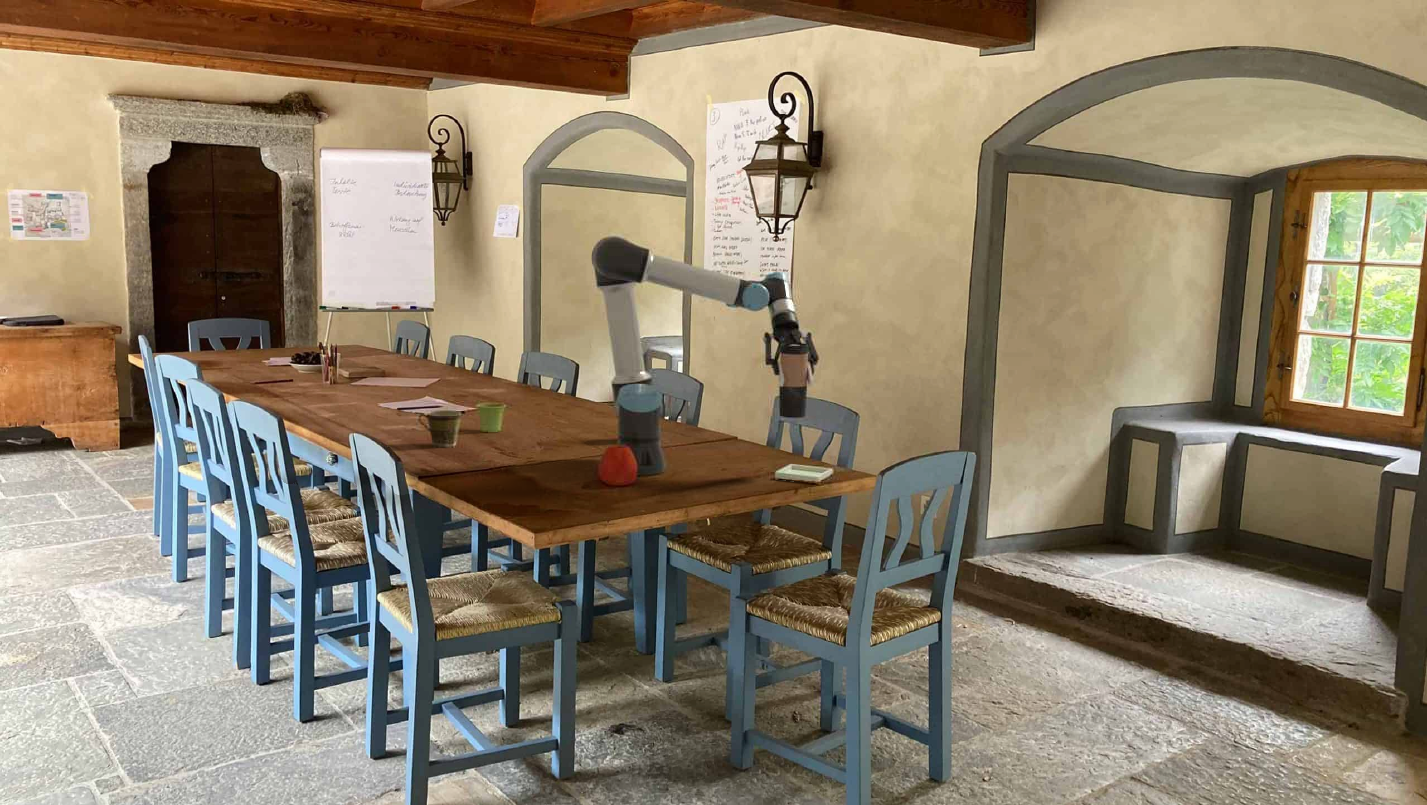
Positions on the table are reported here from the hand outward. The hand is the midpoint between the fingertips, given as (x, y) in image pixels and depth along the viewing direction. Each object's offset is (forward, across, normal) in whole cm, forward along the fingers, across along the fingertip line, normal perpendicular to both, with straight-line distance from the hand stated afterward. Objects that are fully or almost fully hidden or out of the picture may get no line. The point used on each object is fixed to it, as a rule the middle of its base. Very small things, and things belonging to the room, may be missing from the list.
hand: (796, 383), depth 302 cm
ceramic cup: (-16, +98, -53) cm, 113 cm away
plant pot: (-33, +83, -70) cm, 113 cm away
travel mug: (+4, 0, -9) cm, 10 cm away
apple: (+22, +49, -14) cm, 56 cm away
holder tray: (+20, -3, -17) cm, 26 cm away
